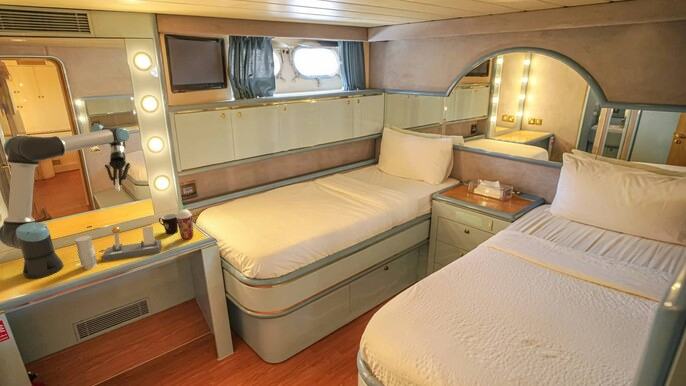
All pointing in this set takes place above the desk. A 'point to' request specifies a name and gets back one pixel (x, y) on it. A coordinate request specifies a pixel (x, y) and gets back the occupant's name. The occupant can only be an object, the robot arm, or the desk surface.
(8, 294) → the desk surface
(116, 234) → the steel toggle
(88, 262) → the candle
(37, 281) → the desk surface
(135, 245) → the switch console
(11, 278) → the desk surface
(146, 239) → the white flat upright panel
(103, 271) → the desk surface
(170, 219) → the coffee mug
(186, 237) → the smoothie
